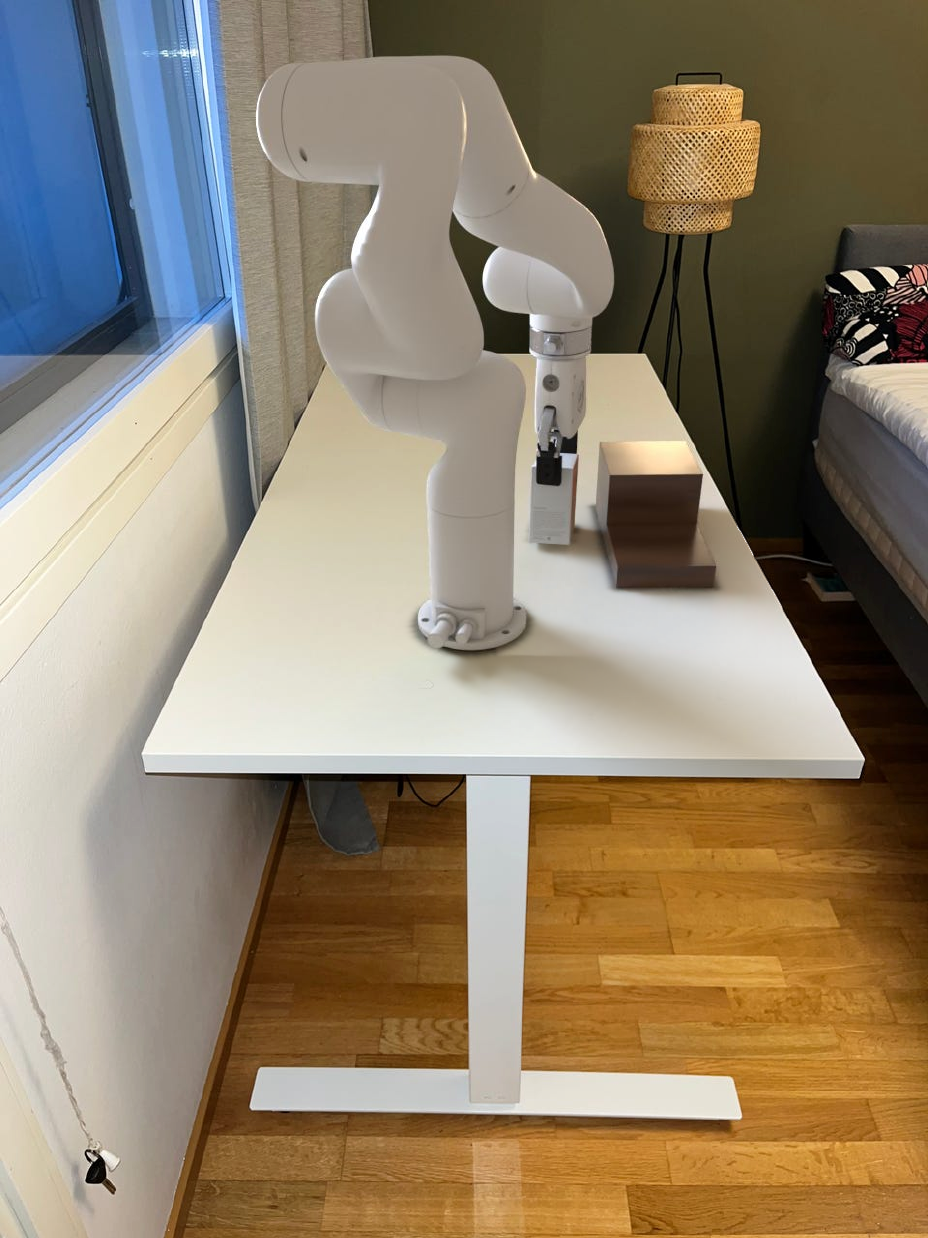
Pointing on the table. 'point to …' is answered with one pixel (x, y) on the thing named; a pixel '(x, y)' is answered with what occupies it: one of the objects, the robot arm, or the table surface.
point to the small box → (554, 505)
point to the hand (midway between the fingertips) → (557, 469)
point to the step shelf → (652, 515)
